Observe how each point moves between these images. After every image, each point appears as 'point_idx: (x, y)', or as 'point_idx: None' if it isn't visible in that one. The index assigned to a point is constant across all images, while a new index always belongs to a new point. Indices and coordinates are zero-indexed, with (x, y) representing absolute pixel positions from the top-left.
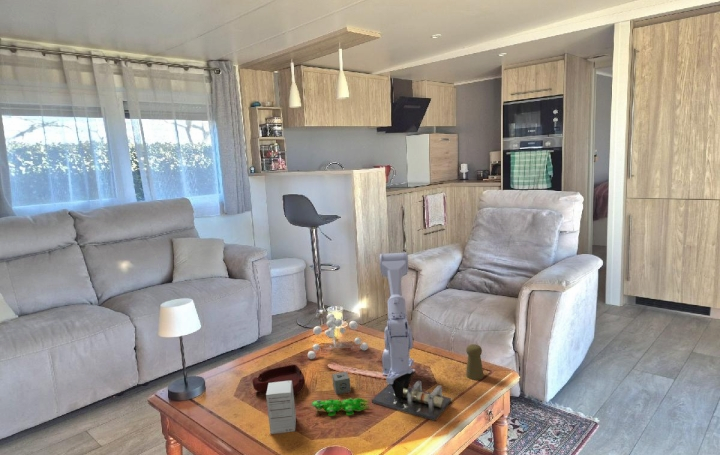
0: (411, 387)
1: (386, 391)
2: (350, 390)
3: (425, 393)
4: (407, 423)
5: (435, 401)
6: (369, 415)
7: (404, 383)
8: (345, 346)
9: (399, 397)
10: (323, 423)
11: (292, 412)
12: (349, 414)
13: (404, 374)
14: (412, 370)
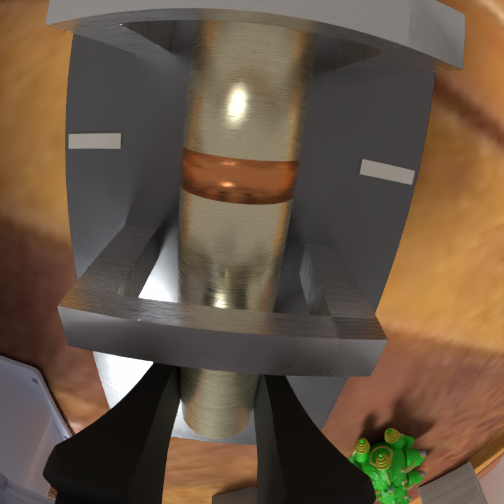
0: (272, 370)
1: None
2: (253, 491)
3: (220, 163)
4: (485, 209)
5: None
6: (418, 397)
7: (164, 417)
8: (51, 497)
9: None
10: (450, 450)
11: (485, 498)
12: (413, 440)
13: (147, 496)
14: (49, 477)
